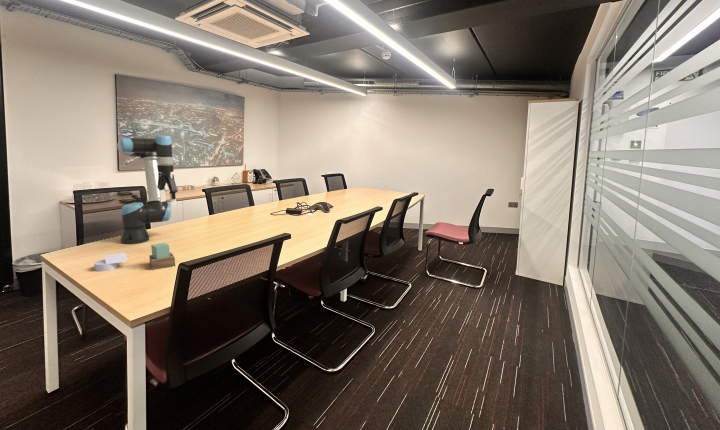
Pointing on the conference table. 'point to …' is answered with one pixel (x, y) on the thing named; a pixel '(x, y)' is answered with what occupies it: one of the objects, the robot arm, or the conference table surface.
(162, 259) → the walnut block
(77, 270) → the conference table surface
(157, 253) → the green cube
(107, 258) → the wedge on round base
